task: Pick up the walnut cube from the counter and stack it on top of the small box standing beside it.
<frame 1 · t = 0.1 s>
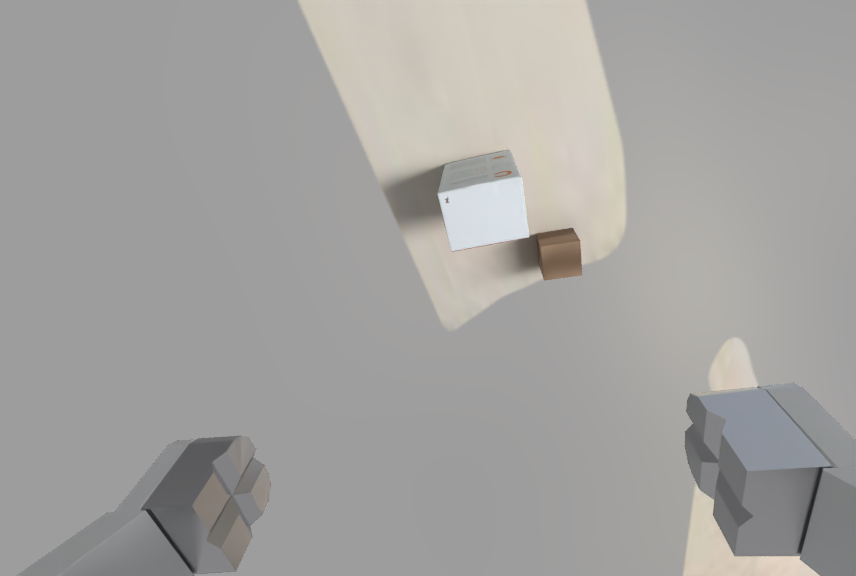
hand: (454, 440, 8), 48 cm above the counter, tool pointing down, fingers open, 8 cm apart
small box: (481, 181, 54), on the counter
walnut cube: (555, 246, 57), on the counter
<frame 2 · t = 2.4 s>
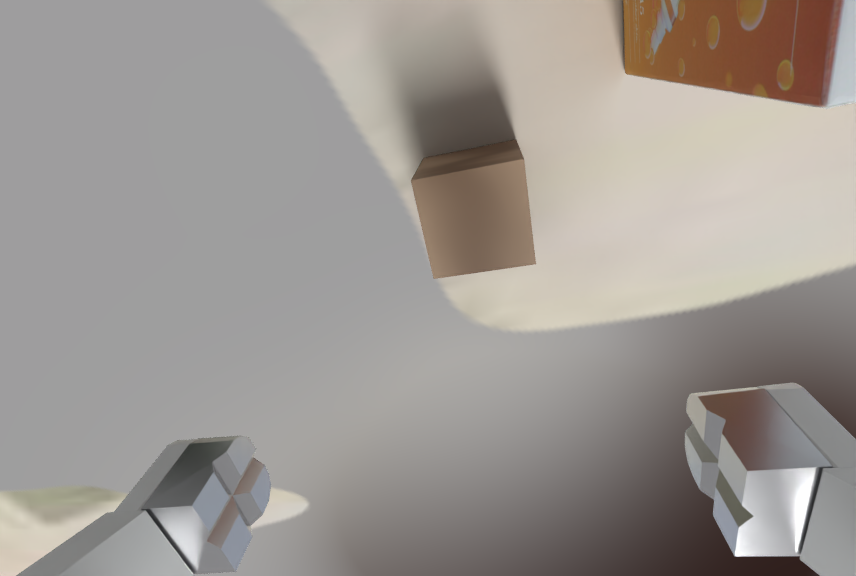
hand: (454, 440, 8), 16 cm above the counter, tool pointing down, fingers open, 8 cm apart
walnut cube: (476, 193, 22), on the counter
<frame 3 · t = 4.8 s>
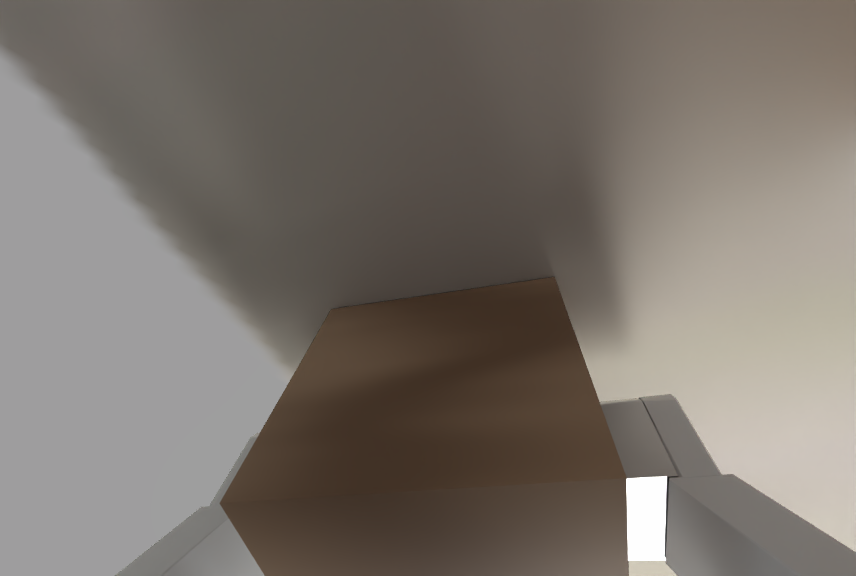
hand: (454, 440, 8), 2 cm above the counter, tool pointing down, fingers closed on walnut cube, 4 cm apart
walnut cube: (458, 383, 10), on the counter, touching gripper
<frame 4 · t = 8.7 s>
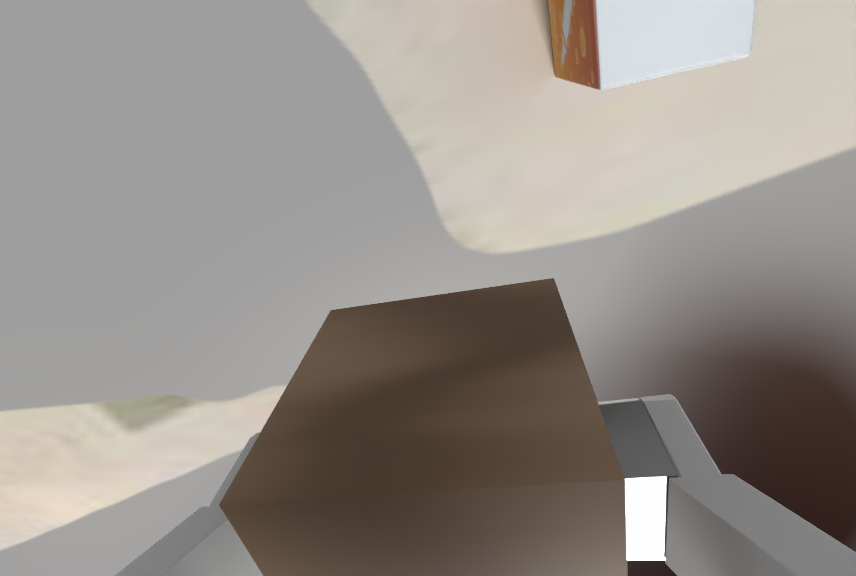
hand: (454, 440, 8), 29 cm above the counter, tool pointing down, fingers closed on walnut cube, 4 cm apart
small box: (594, 1, 29), on the counter
walnut cube: (457, 384, 10), point 27 cm above the counter, touching gripper
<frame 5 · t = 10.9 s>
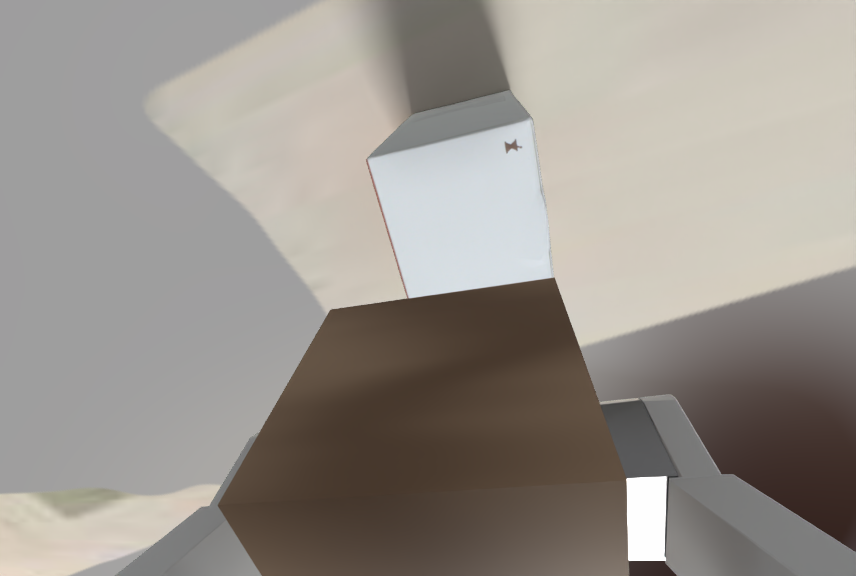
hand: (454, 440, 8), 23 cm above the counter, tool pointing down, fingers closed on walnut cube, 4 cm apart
small box: (472, 165, 29), on the counter
walnut cube: (457, 383, 10), point 22 cm above the counter, touching gripper
when the fingers open (16 cm above the counter, at t = 12.9 s): walnut cube drops 1 cm, resting on small box.
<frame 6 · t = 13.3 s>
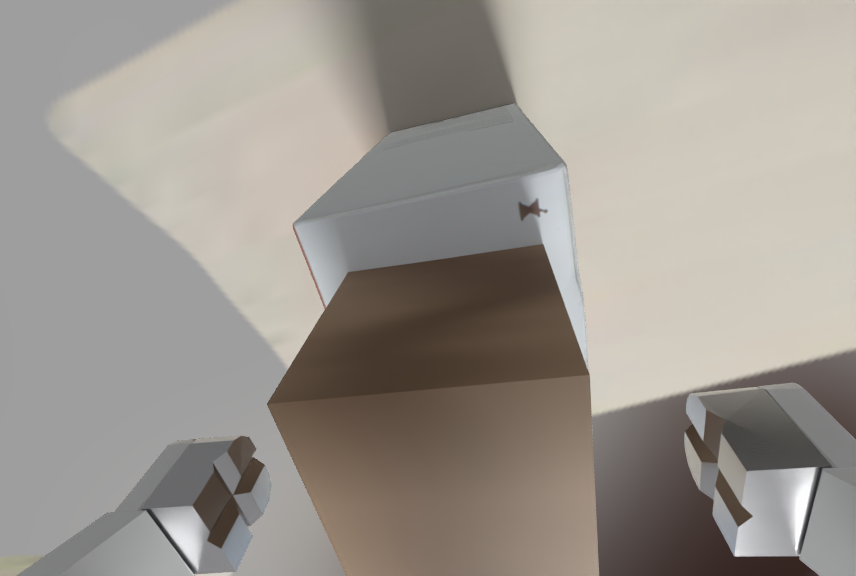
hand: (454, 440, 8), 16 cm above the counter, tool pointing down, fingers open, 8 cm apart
small box: (466, 197, 23), on the counter, touching walnut cube
walnut cube: (458, 341, 11), point 13 cm above the counter, touching small box
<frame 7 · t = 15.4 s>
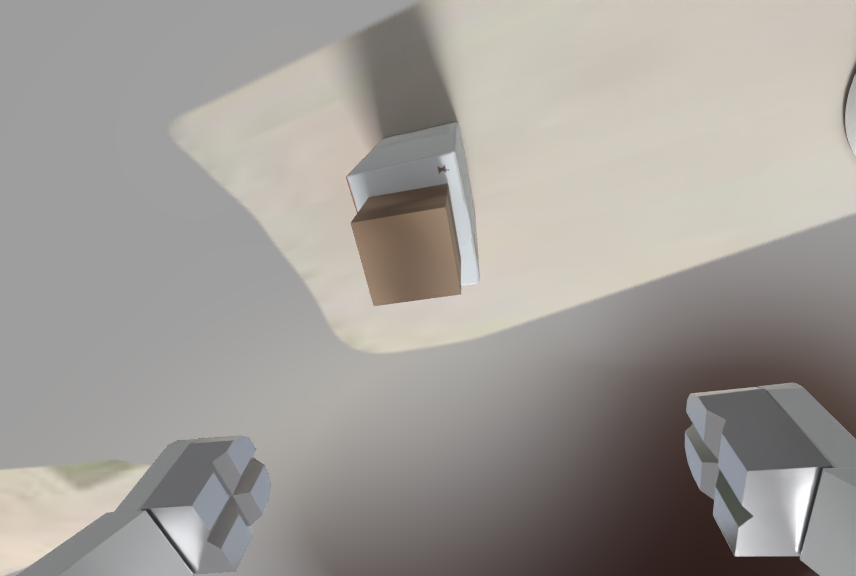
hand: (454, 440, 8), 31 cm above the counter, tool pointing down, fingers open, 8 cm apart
small box: (430, 178, 37), on the counter, touching walnut cube
walnut cube: (416, 228, 25), point 13 cm above the counter, touching small box
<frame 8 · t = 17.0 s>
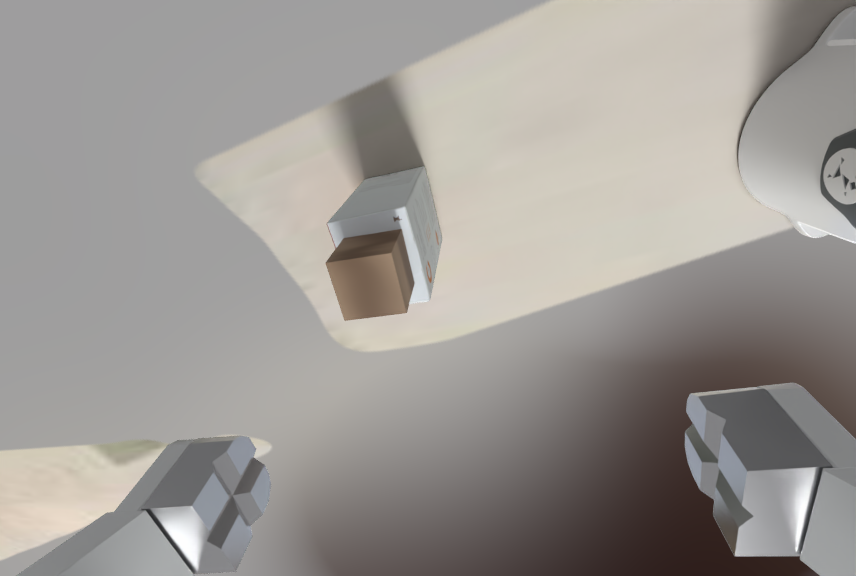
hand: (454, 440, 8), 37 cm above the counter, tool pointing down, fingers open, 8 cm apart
small box: (404, 209, 45), on the counter, touching walnut cube
walnut cube: (379, 261, 34), point 13 cm above the counter, touching small box
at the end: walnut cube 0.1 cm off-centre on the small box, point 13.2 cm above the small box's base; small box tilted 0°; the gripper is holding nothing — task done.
